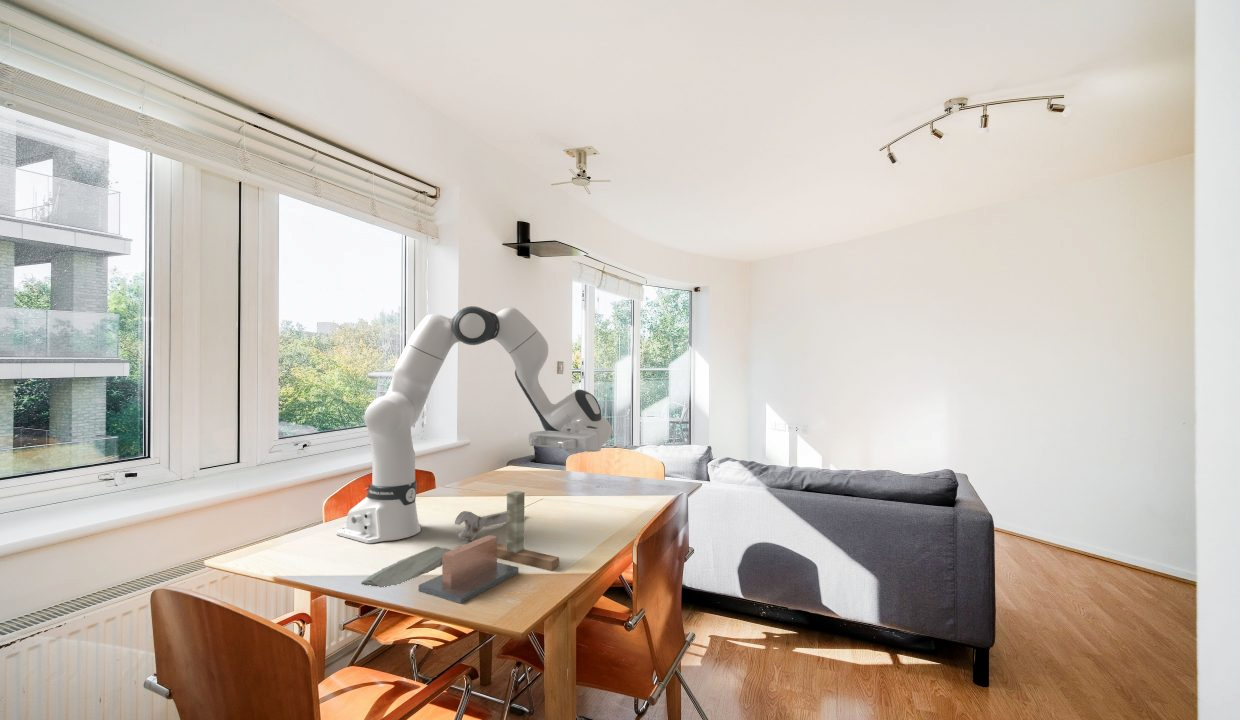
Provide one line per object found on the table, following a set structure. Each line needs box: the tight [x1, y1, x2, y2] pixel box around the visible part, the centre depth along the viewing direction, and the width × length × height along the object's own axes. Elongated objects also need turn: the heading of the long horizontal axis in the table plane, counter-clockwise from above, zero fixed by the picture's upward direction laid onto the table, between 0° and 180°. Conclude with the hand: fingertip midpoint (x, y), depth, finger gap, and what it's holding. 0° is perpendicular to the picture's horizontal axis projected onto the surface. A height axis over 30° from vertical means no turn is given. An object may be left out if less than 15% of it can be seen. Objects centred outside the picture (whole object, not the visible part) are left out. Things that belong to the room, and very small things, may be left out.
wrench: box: [454, 510, 507, 541], centre depth 154 cm, size 8×2×30 cm
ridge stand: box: [418, 534, 520, 604], centre depth 118 cm, size 12×18×8 cm, turn 151°
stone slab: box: [360, 546, 452, 588], centre depth 126 cm, size 22×3×10 cm
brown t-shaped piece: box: [497, 490, 560, 572], centre depth 132 cm, size 24×3×16 cm, turn 61°
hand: (546, 444), depth 142 cm, fingers open, 8 cm apart
